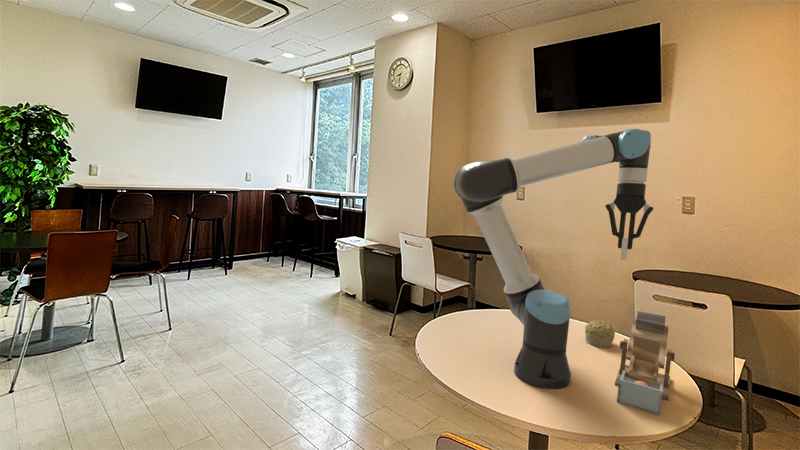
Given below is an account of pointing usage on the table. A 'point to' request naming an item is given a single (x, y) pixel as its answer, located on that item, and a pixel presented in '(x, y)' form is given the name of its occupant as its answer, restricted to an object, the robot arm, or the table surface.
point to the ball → (641, 383)
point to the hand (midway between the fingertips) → (623, 259)
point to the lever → (647, 346)
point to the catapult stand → (662, 377)
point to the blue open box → (640, 395)
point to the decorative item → (599, 333)
